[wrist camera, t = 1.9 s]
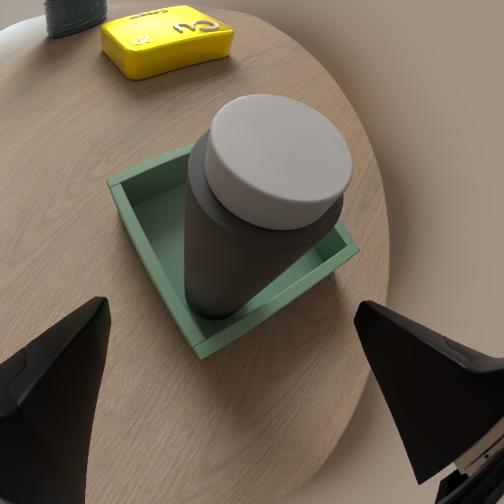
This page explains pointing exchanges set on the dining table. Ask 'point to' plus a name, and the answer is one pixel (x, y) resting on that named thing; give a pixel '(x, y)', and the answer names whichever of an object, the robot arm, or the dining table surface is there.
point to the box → (172, 252)
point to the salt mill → (258, 198)
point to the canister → (73, 15)
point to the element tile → (164, 41)
